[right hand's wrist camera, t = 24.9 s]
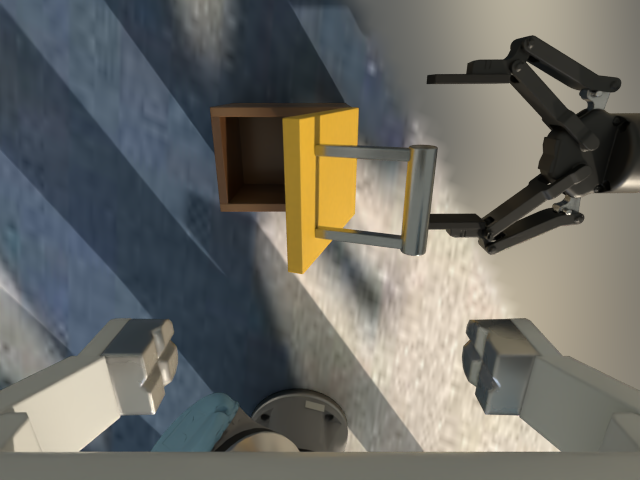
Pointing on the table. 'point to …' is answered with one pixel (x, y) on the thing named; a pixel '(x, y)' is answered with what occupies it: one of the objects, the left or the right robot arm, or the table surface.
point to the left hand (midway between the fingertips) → (423, 155)
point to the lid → (345, 186)
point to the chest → (254, 152)
